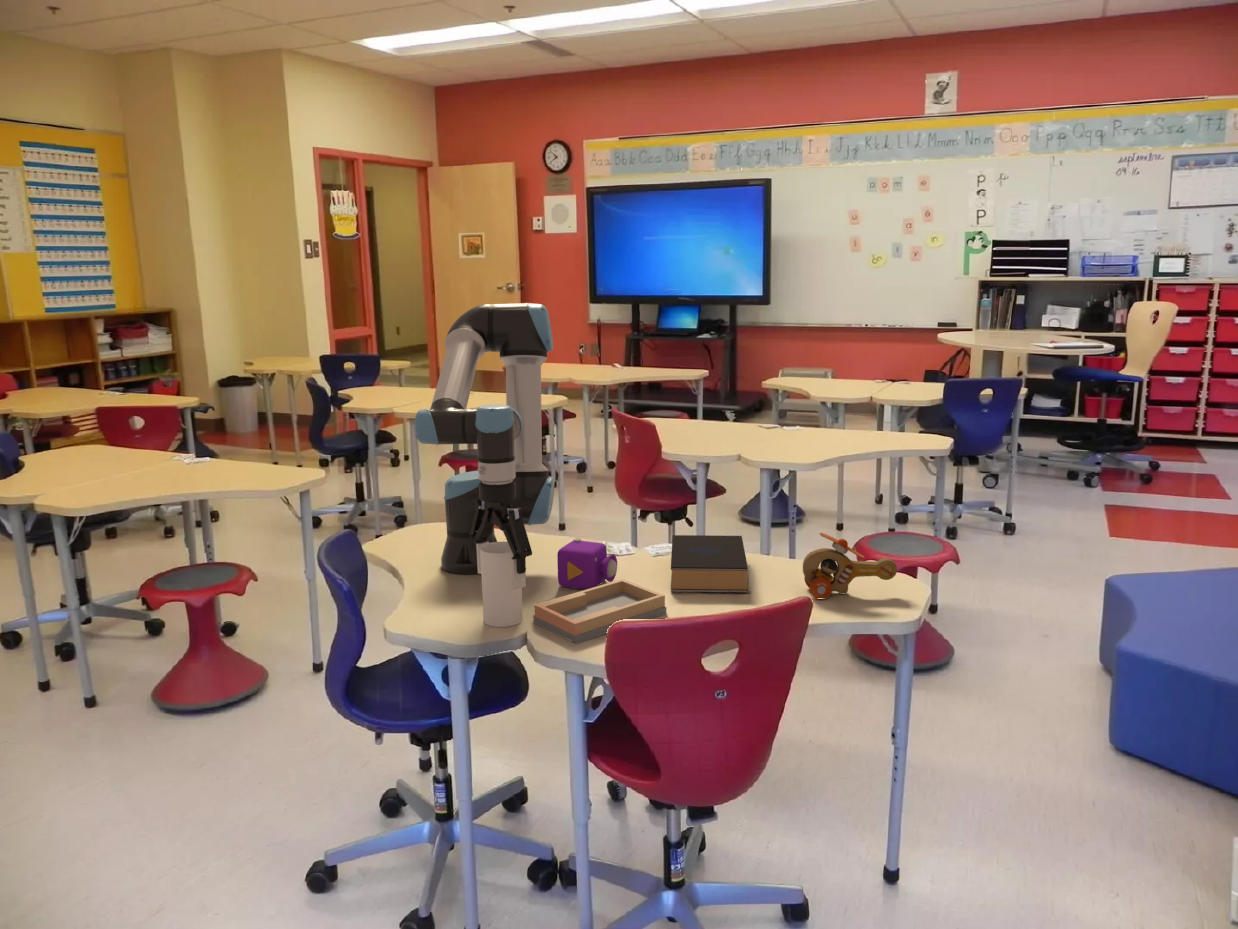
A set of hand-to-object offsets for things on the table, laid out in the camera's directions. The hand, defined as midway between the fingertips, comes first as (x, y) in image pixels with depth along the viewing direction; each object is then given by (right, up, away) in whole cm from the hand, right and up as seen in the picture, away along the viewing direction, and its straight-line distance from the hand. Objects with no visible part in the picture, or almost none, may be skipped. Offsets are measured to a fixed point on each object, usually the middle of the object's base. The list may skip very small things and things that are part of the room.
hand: (501, 580), depth 196 cm
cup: (0, -9, +2) cm, 9 cm away
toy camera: (+18, -4, +23) cm, 29 cm away
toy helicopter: (+75, -5, +15) cm, 77 cm away
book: (+46, -3, +28) cm, 54 cm away
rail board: (+21, -8, +2) cm, 22 cm away
